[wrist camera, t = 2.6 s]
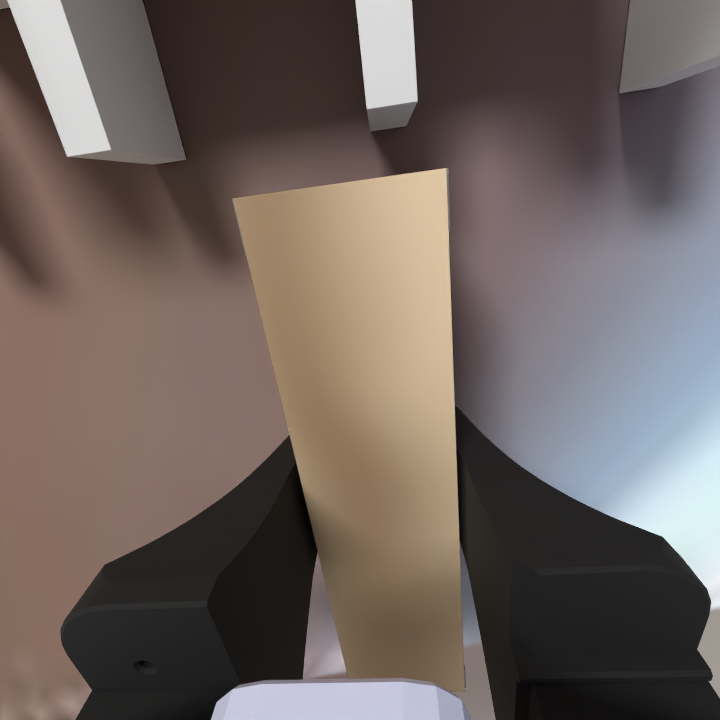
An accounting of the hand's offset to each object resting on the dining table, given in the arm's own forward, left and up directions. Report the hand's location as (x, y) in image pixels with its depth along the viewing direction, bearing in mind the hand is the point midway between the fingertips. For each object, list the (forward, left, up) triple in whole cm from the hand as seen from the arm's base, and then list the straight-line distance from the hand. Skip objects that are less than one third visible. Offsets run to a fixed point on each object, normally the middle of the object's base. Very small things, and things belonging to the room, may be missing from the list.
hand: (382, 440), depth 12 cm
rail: (0, 0, -2) cm, 2 cm away
